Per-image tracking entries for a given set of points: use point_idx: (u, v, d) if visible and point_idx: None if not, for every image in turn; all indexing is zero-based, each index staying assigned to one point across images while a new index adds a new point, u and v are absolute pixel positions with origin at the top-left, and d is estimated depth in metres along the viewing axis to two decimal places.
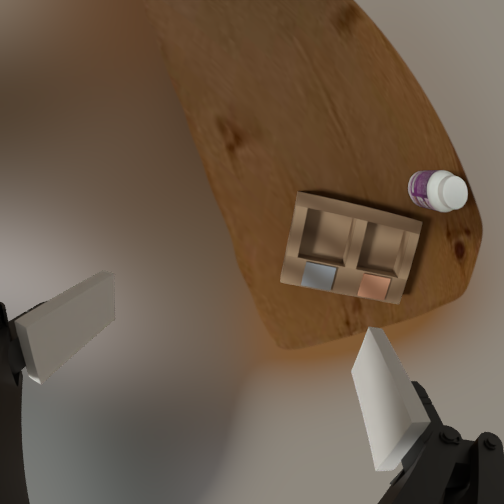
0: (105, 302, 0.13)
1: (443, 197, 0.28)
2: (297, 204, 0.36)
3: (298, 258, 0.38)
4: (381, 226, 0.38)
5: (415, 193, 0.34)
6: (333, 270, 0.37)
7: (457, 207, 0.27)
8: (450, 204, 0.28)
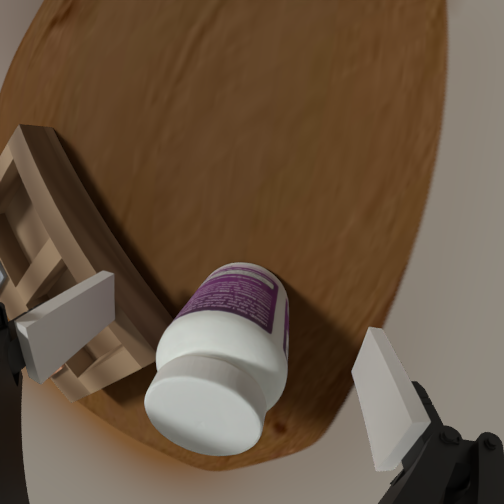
0: (105, 302, 0.13)
1: None
2: (9, 143, 0.13)
3: None
4: None
5: None
6: (0, 276, 0.15)
7: (179, 443, 0.08)
8: (159, 425, 0.08)
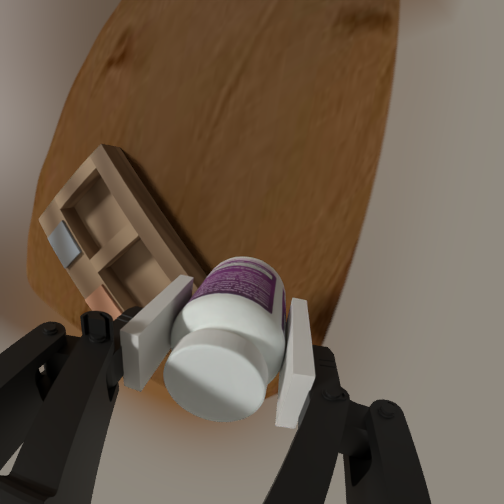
0: None
1: (165, 364, 0.10)
2: (91, 156, 0.24)
3: (60, 211, 0.25)
4: None
5: None
6: (76, 252, 0.26)
7: (192, 411, 0.10)
8: (175, 393, 0.10)
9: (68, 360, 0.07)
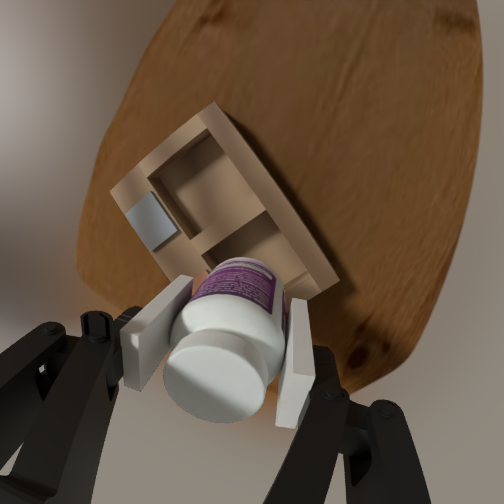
0: None
1: None
2: (199, 114, 0.21)
3: (147, 180, 0.23)
4: (283, 237, 0.25)
5: None
6: (171, 230, 0.23)
7: (191, 412, 0.10)
8: (175, 394, 0.10)
9: (69, 360, 0.07)
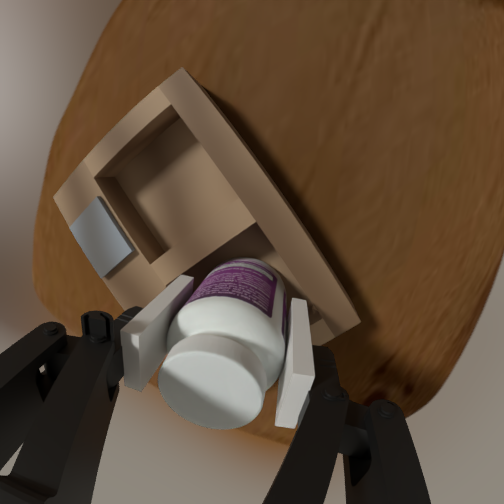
0: None
1: (159, 371, 0.10)
2: (161, 86, 0.14)
3: (94, 180, 0.16)
4: (282, 259, 0.18)
5: None
6: (124, 250, 0.16)
7: (187, 418, 0.10)
8: (170, 400, 0.10)
9: (69, 360, 0.07)
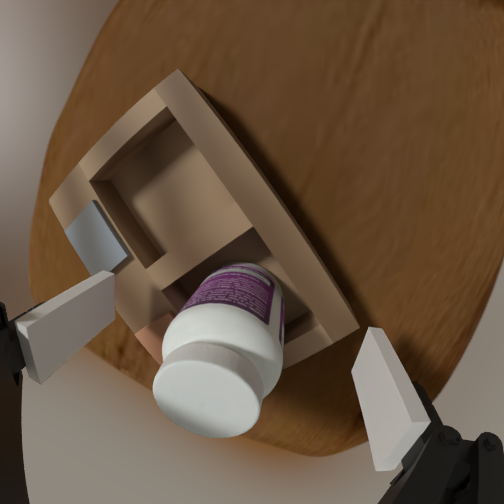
0: (105, 302, 0.13)
1: (154, 379, 0.09)
2: (157, 88, 0.13)
3: (89, 184, 0.15)
4: (280, 264, 0.18)
5: None
6: (119, 255, 0.16)
7: (183, 426, 0.10)
8: (165, 408, 0.09)
9: None
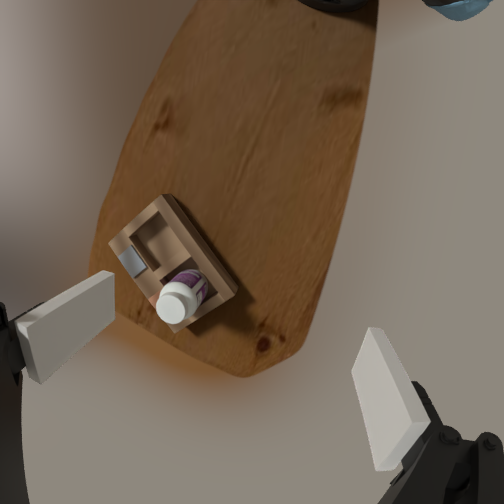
0: (105, 302, 0.13)
1: None
2: (153, 202, 0.39)
3: (128, 238, 0.41)
4: None
5: None
6: (142, 266, 0.41)
7: (164, 320, 0.35)
8: (159, 313, 0.35)
9: None
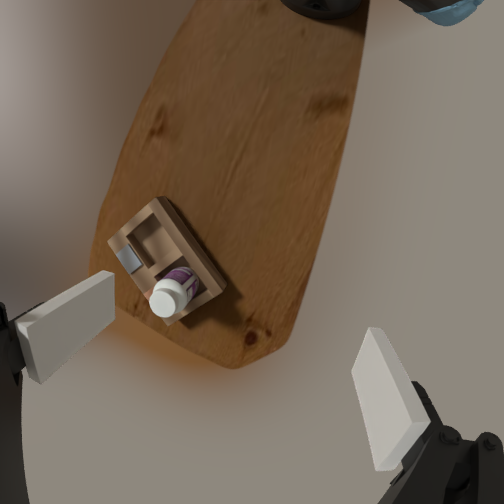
0: (105, 302, 0.13)
1: None
2: (148, 204, 0.42)
3: (126, 237, 0.44)
4: None
5: None
6: (138, 264, 0.44)
7: (156, 313, 0.38)
8: (152, 307, 0.38)
9: None
